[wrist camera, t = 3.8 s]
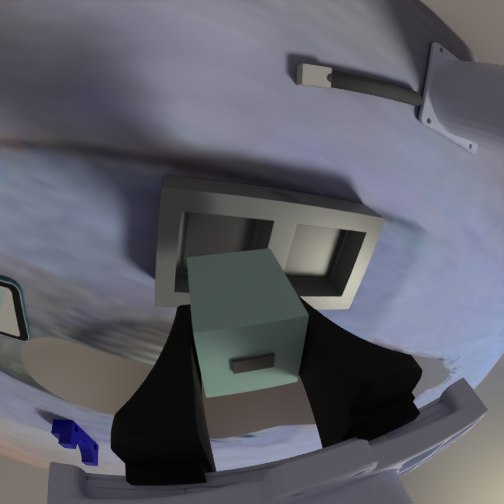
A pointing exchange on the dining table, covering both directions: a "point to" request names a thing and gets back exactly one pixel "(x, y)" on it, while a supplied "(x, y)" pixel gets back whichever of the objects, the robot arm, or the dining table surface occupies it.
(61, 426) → the cable holder
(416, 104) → the cable piece
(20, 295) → the smartphone
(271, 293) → the block
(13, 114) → the dining table surface
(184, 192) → the grey piece
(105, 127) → the dining table surface
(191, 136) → the dining table surface
